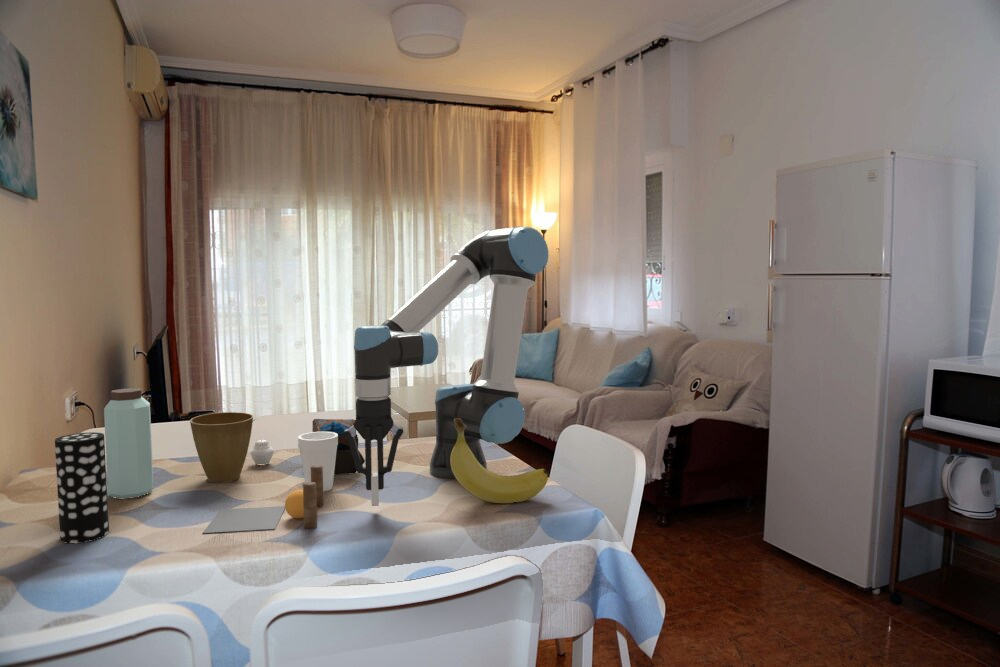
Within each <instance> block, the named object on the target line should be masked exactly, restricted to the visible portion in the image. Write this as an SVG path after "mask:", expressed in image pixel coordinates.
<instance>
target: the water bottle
mask: <svg viewBox="0 0 1000 667" xmlns="http://www.w3.org/2000/svg"><path fill="white" fill-rule="evenodd" d="M142 392H143V389H142V388H137V387H132V388H129V387H128V388H119V389H114V390H111V392H110V400H109V402H108V403H107V404H106V405H105V407H104V408H103V418H104V419H103V420H104V441H105V460H106V480H107V495H109V496H110V497H111V498H112V497H116V498H130V497H138V496H141V495H144V494H147V493H149V494H150V493H151V491H152V490H153V487H154V468H153V465H154V464H153V448H152V447H153V446H152V445H153V444H152V421H151V419H152V418H151V403H150V402H149V401H148V400H146V398H144V397H143V396H142V394H143V393H142ZM147 495H148V494H147ZM144 496H145V495H144ZM141 497H142V496H141ZM116 498H115V499H116ZM138 498H139V497H138ZM130 499H131V498H130Z"/></svg>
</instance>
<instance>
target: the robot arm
mask: <svg viewBox="0 0 1000 667" xmlns="http://www.w3.org/2000/svg"><path fill="white" fill-rule="evenodd" d="M548 262H549V248H548V244H547V241H546V240H545V239H544V236H543V235H542V233H541V232H540V231H538V230H537V229H535V228H533V227H530V226H515V227H506V228H498V229H497V228H494V229H488V230H485V231H483V232H481V233H479V234H478V235H476V236H474V237H473V238H472V239H471V240H469V241H468V242H466V243H465V244H464V245H463V246H462V247H461V248H459V249H458V250H456V252H455V253H453V255H451V257H450V262H449V263H448V264H447V265H446V266H445V267H444V268H443V269H441V271H439V272H438V273H437V274H436V275H435V276H434V277H432V279H430V281H429V282H427V283H426V284H425V285H424V286H423V287H421V289H419V290H418V292H416V293H415V294H414V295H413V296H412V297H411V298H409V299H408V300H407V301H406V302H405V303H404V304H402V305H401V307H400V308H398V309H397V310H396V311H395V312H394V313H393V314H391V316H390V317H388V318H387V319H386V320H385V321H384V322H383V323H381V325H362V326H358V327H357V328H356V329H355V331H354V337H353V338H354V339H353V341H354V343H353V349H354V373H355V376H354V384H355V385H354V386H355V387H354V390H355V396H356V397H357V398H356V399H355V419H354V420H355V421H354V425H353V426H352V427H350V428H349V429H345V431H344V436H345V437H346V439H347V440H348V441H349V444H350V448H351V451H352V455H353V459H354V462H355V466H356V469H357V471H356V473H357V474H359V475H364V476H365V489H366V491H371V493H370V495H371V507H377V506H378V507H379V504H380V494H379V493H380V491H381V490H383V489H384V487H385V486H384V485H385V481H384V480H385V477H384V476H385V475H386V474H388V473H391V472H392V470H393V466H394V462H395V456H396V454H397V448H398V444H399V439H400V438H402V435H403V433H404V428H403V427H402V426H399V425H397V424H395V423H394V419H393V418H392V399H391V397H389V396H391V394H392V390H391V389H392V387H391V386H392V384H391V383H392V382H391V380H392V379H391V369H395V368H404V367H406V368H407V367H416V366H420V367H422V366H425V365H430V364H433V363H434V362H435V361H436V360H437V359H438V356H439V343H438V340H437V337H436V336H435V335H434V334H433V333H431V332H429V331H421V330H423V329H424V328H425V326H427V324H429V323H430V322H431V321H432V320H433V319H435V317H437V315H439V314H440V313H441V312H442V311H443V310H444V309H445V308H446V307H447V306H448V305H450V303H452V302H453V301H454V300H455V299H456V298H457V297H458V296H460V294H461V293H462V292H463V291H464V290H465V289H466V288H467V287H469V286H470V285H477V283H479V282H480V281H481V280H482V279H483V278H486V277H487V276H489V279H490V280H491V282H492V283H493V289H492V290H493V292H492V298H491V303H490V304H491V306H490V311H489V318H488V325H487V331H486V339H485V345H484V351H483V358H482V364H481V371H480V378H479V379H478V380H477V381H475V382H474V383H464V384H453V385H447V386H441V387H438V388H437V389H436V391H435V398H434V399H435V400H434V404H435V445H434V448H433V453H432V456H431V458H430V461H429V472H430V474H431V475H433V476H435V477H438V478H444V479H456V477H455V476H454V474H453V472H452V469H451V464H450V457H451V452H452V450H453V448H454V446H455V444H456V442H457V438H458V432H457V430H456V429H455V424H454V419H455V418H461V419H462V422H463V424H465V425H466V428H465V429H464V438H465V441H466V444H467V445H468V447H469V448H470V450H471V452H472V453H473V455H474V456H475V458H476V459H477V461H478V462H479V463H480V464H481V465H482V466H483V467H484V468H485V469H486V470H488V468H487V467H488V466H487V459H486V457H485V454H484V453H485V452H484V450H483V447H482V445H481V441H485V442H486V443H494V444H500V445H501V444H506V443H509V442H511V441H513V440H514V438H515V437H517V436H518V435H519V434H520V432H521V431H522V429H523V426H524V424H525V419H526V411H525V408H524V407H523V406H524V404H523V403H522V402H521V401H520V400H519V392H520V390H519V389H518V387H517V386H516V384H515V379H516V373H517V367H518V358H519V351H520V345H521V339H522V331H523V326H524V317H525V311H526V303H527V298H528V291H529V289H530V288H531V287H533V286H534V285H536V279H537V275H538V274H540V273H541V272H542V271H544V269H545V268H546V267H547V265H548ZM355 430H356V432H355ZM390 431H391V435H392V436H393V437H392V440H391V444H390V449H389V454H388V458H387V463H386V465H384V439H385V438H386V437H387V435H388V434H389V433H390ZM357 432H358V434H359V435H360V437H361V438H362V439H363V440H364V446H365V447H364V451H365V452H364V453H365V454H364V456H365V458H364V460H365V462H364V465H365V466H364V465H362V461H361V458H360V454H359V452H360V450H359V446H358V447H357V443H356V439H355V435H356V434H357ZM374 440H375V441H376V448H377V449H376V450H377V452H376V454H377V472H373V471H372V470H373V468H372V441H374Z"/></svg>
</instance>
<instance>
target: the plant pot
mask: <svg viewBox="0 0 1000 667" xmlns="http://www.w3.org/2000/svg"><path fill="white" fill-rule="evenodd" d="M253 422H254V415H253V414H251V413H248V412H237V411H234V412H233V411H226V412H225V411H224V412H223V411H222V412H214V413H213V412H211V413H206V414H205V413H204V414H201V415H198V416H195V417H192V418H191V419H189V424H190V428H191V432H192V439H193V442H194V446H195V449H196V452H197V456H198V458H199V461H200V464H201V467H202V469H203V471H204V473H205V476H206V478H207V480H208V481H209V482H210V481H211V483H214V482H224V483H229V482H228V481H230V482H234V481H237V480H238V479H239V478H240V476H241V473H242V471H243V468H244V465H245V463H246V462H245V461H246V459H247V454H248V450H249V447H250V441H251V437H252V430H253ZM233 480H234V481H233Z"/></svg>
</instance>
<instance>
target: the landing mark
mask: <svg viewBox="0 0 1000 667" xmlns="http://www.w3.org/2000/svg"><path fill="white" fill-rule="evenodd" d="M285 511H286V508H285V505H282V506H279V505H277V506H262V507H261V506H259V507H246V508H244V507H243V508H227V509H225V508H224V509H219V511H218V512H217V513H216V514H215V516H214V517H213V518H212V520H211V521H210V523H209V524H208V525H207V526H206V527H205V529H204V530H203V531H202V534H203V533H210V534H218V533H217V532H226V533H238V532H239V531H241V533H242V531H243V532H255V531H257V532H258V531H274V530H276V528H277V526H278V524H279V522H280V520H281V518H282V517H283V516H282V515H283V514H284V512H285ZM236 531H238V532H236ZM215 532H216V533H215ZM239 533H240V532H239ZM203 535H204V534H203Z"/></svg>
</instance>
